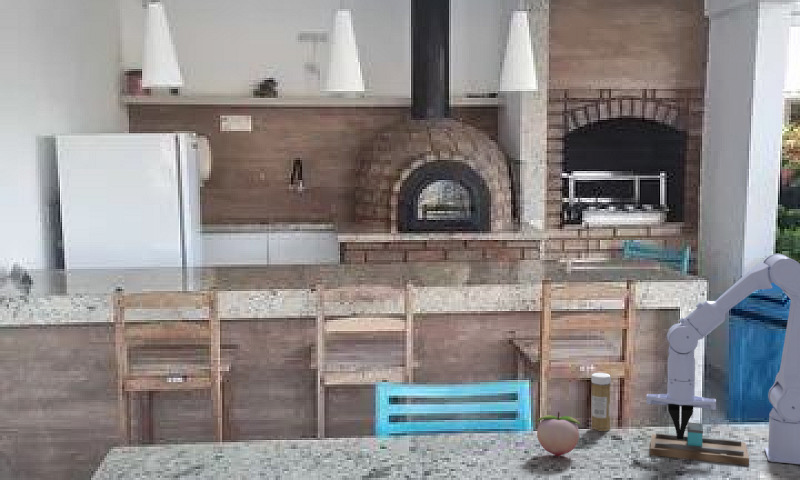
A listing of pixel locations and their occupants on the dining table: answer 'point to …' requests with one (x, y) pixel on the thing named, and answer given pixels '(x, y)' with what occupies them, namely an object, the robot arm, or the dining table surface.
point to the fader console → (700, 449)
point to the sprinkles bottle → (601, 401)
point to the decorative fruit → (558, 434)
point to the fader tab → (694, 434)
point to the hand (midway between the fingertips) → (680, 437)
